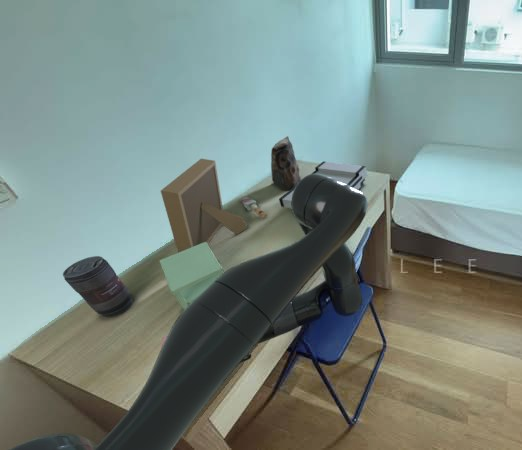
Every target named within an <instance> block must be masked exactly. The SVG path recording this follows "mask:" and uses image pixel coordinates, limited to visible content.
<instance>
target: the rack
mask: <svg viewBox="0 0 522 450" xmlns="http://www.w3.org/2000/svg"><path fill="white" fill-rule="evenodd" d="M159 263H160V267H161V269H162V271H163V275H164V277H165V279H166V283H167V285H168V288H169V290H170V293H171V294H172V295H173V296H175V298H176V300H177V301H178V303H179V304H180V305H181V307H182V309H183V311H184V310H185V309H186V307H187V306H188V305H189V304H190V303H191V302H192V301H193V300H194V299H195V298H197V297H198V296H199V295H200V294H201V293H202V292H203V291H204V290H205V289H206V288H207V287H208V286H209V285H210V284H211V283H213V282H214V281H215V280H216V279H217V278H218V277H219V276H221V275H222V274H223V273H224V268H223V267H222V266H221V264H220V262H219V261H218V259H217V257H216V256H215V254H214V253H213V251H212V249H211V248H210V246H209V244H207V243H206V242H204V243H201V244H199V245H196V246H194V247H191V248H189V249H186V250H184V251H181V252H179V253H178V252H176V253H174V254H172V255H169V256H166V257H164V258H162V259H159Z"/></svg>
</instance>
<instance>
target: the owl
mask: <svg viewBox="0 0 522 450" xmlns="http://www.w3.org/2000/svg"><path fill="white" fill-rule="evenodd" d="M270 153H271V154H270V158H271V159H270V160H271V161H270V170H271V171H270V172H271V181H272V184H273V185H274V186H276V187H278V188H279V189H282V191H285V192H286V191H287V192H288V191H290V190H291V189H292V188H294V187H295V186H296V185H297V184H298V183H299V182H300V180H301V177H300V167H299V164H298V162H297V159H296V155H295V150H294V147H293V143H292V142H291V140H290V138H289V135H288V136H285V137H284V138H281V139H280V140H279V141H277V142H276V143H275V144H274V145H273V146H272V147H271V152H270Z"/></svg>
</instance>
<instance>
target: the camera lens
mask: <svg viewBox="0 0 522 450" xmlns="http://www.w3.org/2000/svg"><path fill="white" fill-rule="evenodd" d="M62 276H63V278H64V281H65V282H66V283H67V284H68V285H69V286H70V287H71V288H72V289H73V290H74V291H75V292H76V293H77V294H79V296H80V297H81V298H82V299H83V300H84V301H85V302H86V304H87V305H88V306H89V307H90V308H91V309H92V310H93V311H94V312H96V313H97V314H99V315H101V316H103V317H104V318H114V317H117V316H120V315H121V314H124V313H125V312H126V311H127V310H129V309H130V308H131V307H132V305H133V304H134V300H133V297H132V293H131V292H130V290H129V288H128V287H127V285H126V284H125V283H124V282H123V281H122V280H121V278H120V277H118V275H117V273H116V272H115V270H114V268H113V267H112V265H111V264H110V263H109V262H108V260H106V259H104V257H102V256H99V255H95V256H89V257H86V258H83V259H79V260H78V261H76V262H74V263H72V264H71V265H70V266H68V267H67V268H66V269H64V271H63V272H62Z"/></svg>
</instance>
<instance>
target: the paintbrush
mask: <svg viewBox="0 0 522 450" xmlns="http://www.w3.org/2000/svg"><path fill="white" fill-rule="evenodd" d="M238 200H239V201H240V202H241V204H242V205H243V207H245V208H246V210H247V211H248V212H250V211H252V210H253V211H254V212H255V213H256V214H257V215H258V216H260V218H262V219H263V218H266V217H267V214H266V213H265V212H264V211H263V210H262V209H260V208H259V206H258V205H257V201H256V200H254V199H252V198H251V197H248V196H243V197H240V198H238Z"/></svg>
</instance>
